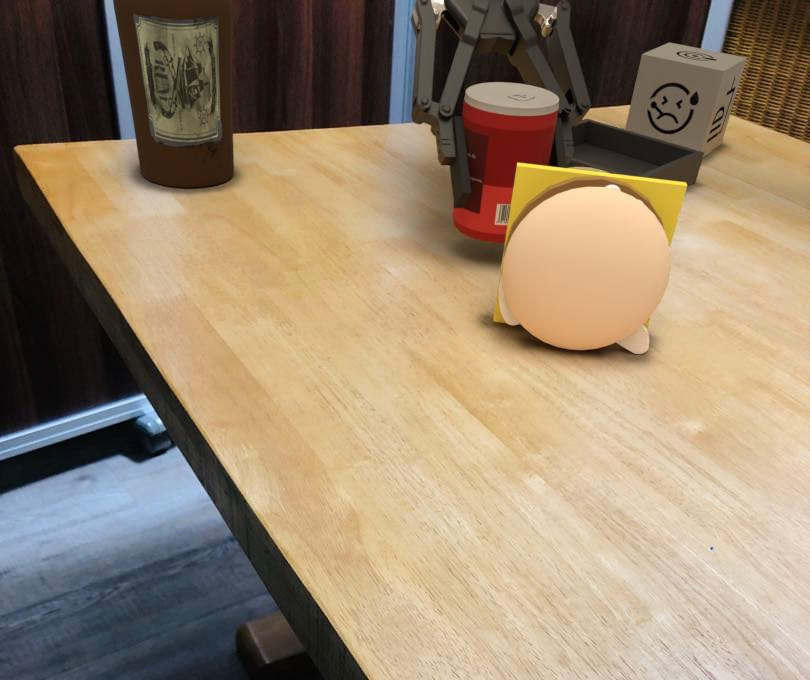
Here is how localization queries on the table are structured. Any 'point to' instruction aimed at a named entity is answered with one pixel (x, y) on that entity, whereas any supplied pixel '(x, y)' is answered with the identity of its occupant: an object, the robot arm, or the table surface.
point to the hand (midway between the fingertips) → (511, 200)
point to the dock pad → (632, 153)
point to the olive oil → (180, 88)
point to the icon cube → (685, 95)
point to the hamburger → (586, 255)
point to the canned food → (501, 150)
